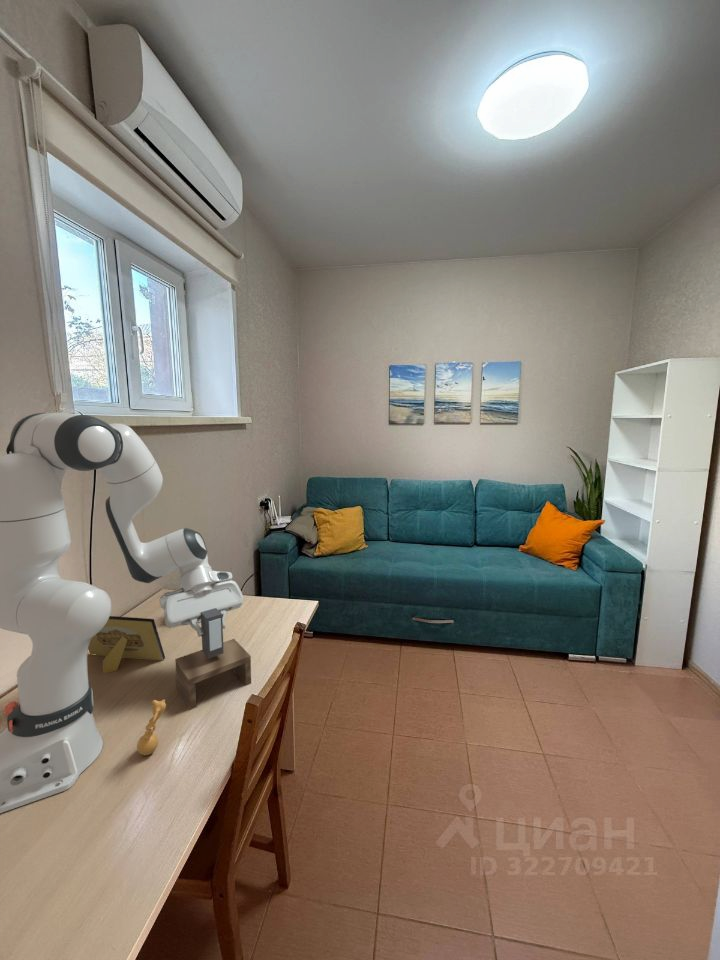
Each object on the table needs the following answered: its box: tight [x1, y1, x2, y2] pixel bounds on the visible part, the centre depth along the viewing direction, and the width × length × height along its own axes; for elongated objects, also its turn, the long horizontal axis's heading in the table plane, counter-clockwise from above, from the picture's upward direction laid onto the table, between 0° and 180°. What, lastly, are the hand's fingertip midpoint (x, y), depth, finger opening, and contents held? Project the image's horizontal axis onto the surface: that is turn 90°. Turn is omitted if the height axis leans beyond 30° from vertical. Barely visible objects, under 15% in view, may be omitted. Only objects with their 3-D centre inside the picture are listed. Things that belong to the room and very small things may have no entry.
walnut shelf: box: [175, 638, 252, 710], centre depth 105 cm, size 16×11×8 cm
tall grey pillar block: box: [200, 608, 224, 659], centre depth 103 cm, size 4×5×11 cm
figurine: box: [136, 699, 167, 756], centre depth 83 cm, size 8×6×12 cm
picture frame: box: [88, 615, 166, 674], centre depth 112 cm, size 23×9×15 cm, turn 84°
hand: (212, 631), depth 103 cm, fingers closed on tall grey pillar block, 4 cm apart
